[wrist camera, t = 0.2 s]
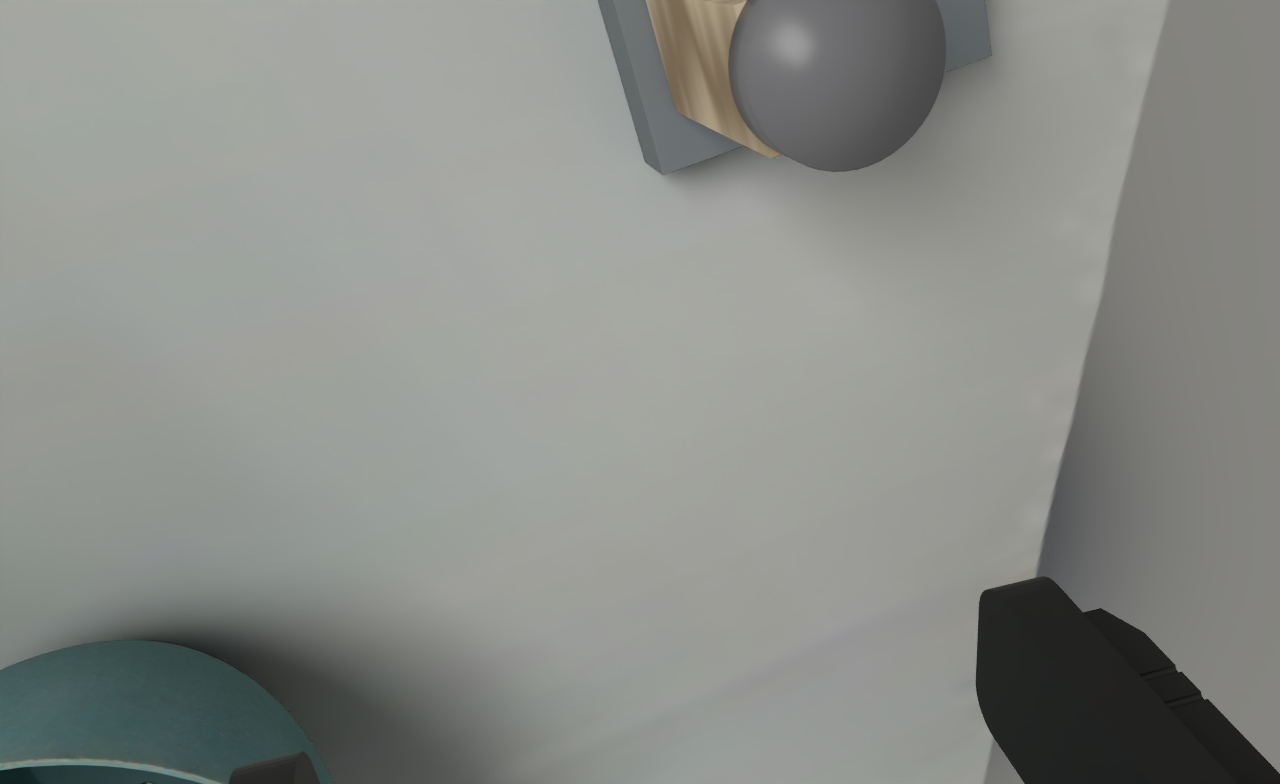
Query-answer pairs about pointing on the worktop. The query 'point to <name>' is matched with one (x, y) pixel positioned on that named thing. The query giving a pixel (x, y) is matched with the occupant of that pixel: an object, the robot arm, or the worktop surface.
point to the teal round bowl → (138, 718)
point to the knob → (804, 73)
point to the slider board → (688, 142)
